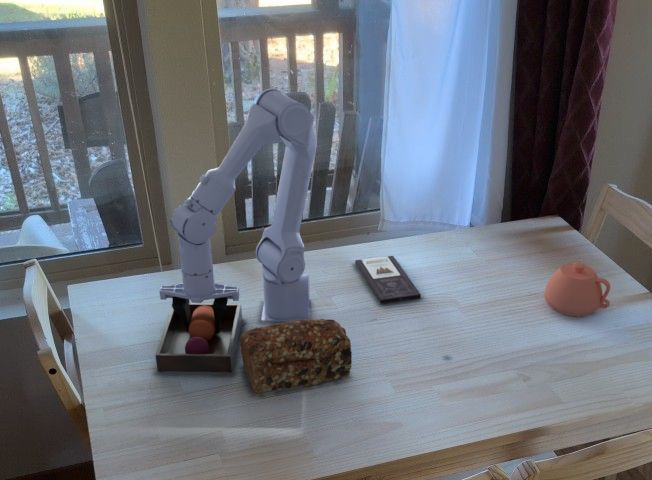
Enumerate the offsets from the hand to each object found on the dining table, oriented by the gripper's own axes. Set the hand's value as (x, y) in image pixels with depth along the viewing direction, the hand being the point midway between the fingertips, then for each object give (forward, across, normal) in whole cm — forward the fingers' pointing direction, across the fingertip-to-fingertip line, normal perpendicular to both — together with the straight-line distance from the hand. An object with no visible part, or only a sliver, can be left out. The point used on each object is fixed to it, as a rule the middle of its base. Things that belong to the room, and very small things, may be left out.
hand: (203, 330), depth 161 cm
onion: (+1, 0, -8) cm, 8 cm away
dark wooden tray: (+2, 0, -3) cm, 4 cm away
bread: (+2, +18, -12) cm, 22 cm away
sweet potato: (+1, 0, 0) cm, 1 cm away
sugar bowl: (+2, +76, +13) cm, 78 cm away
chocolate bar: (+2, +36, +23) cm, 43 cm away
